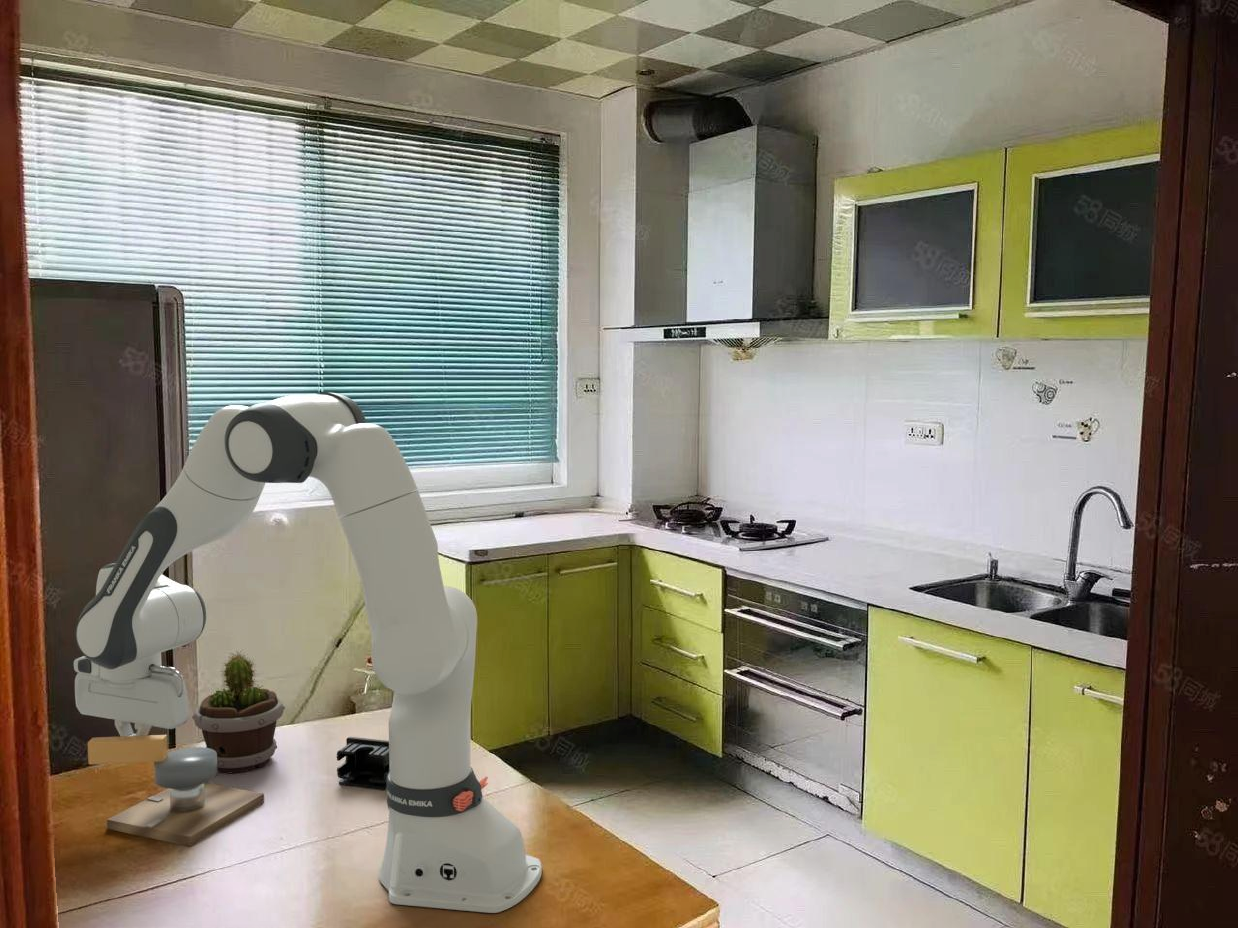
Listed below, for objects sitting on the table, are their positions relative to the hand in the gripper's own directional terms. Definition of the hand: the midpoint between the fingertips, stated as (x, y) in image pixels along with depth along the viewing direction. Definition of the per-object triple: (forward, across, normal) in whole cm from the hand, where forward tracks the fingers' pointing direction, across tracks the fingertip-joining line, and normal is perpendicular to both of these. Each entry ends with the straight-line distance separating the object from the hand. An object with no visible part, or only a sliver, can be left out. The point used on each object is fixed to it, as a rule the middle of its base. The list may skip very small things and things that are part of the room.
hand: (134, 746), depth 157 cm
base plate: (+10, -9, -2) cm, 14 cm away
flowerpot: (+11, -2, -21) cm, 24 cm away
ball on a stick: (+4, -5, +1) cm, 6 cm away
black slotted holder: (+11, -28, -24) cm, 38 cm away
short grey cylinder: (+9, -9, -2) cm, 13 cm away
